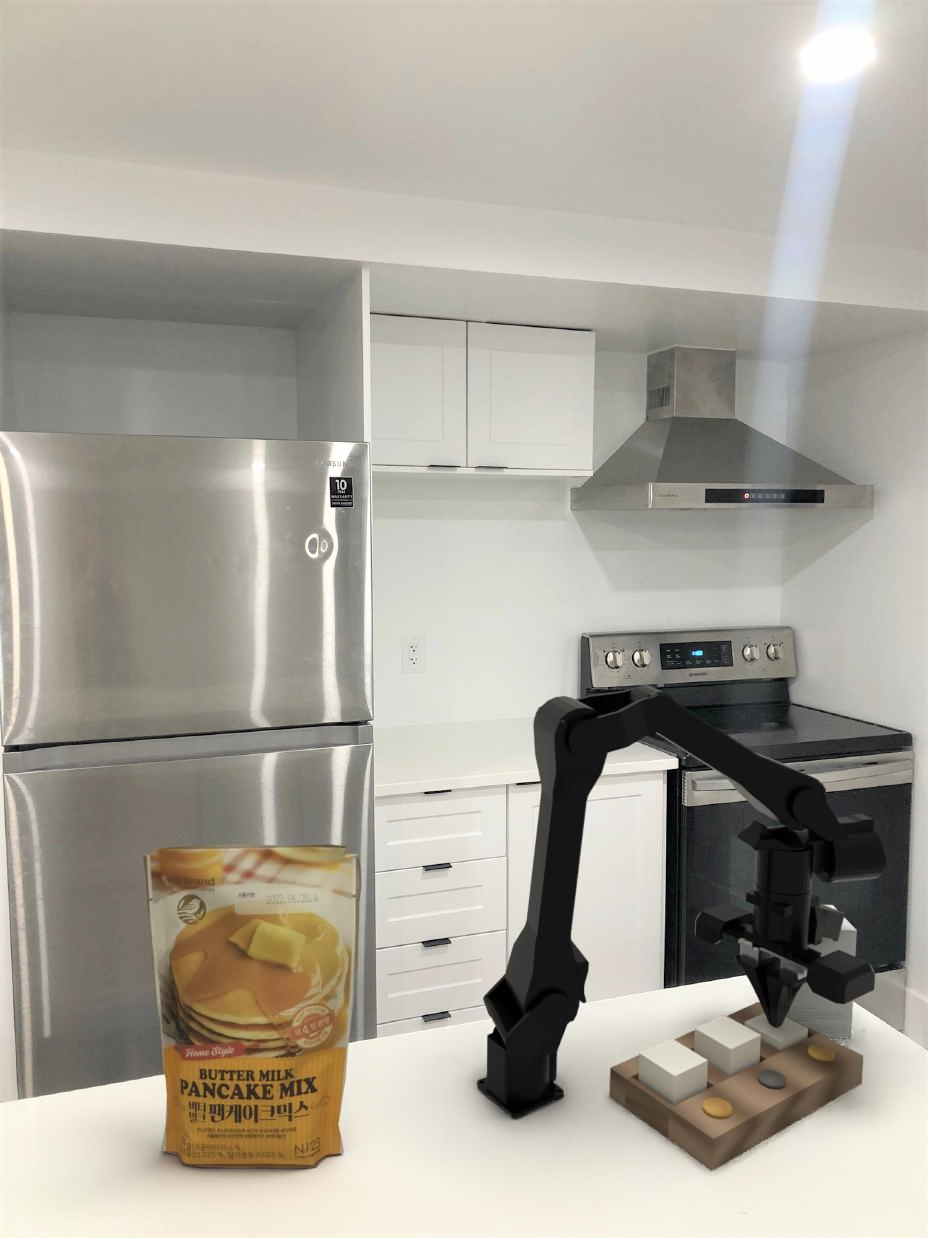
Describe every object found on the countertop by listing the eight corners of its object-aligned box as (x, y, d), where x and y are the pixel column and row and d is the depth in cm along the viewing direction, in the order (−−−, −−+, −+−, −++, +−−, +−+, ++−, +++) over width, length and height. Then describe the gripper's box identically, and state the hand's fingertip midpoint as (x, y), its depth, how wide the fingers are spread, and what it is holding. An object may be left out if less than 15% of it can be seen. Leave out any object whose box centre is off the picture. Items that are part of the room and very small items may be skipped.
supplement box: (853, 1039, 104) (859, 931, 103) (786, 1038, 105) (791, 929, 103) (828, 1005, 112) (834, 903, 110) (766, 1004, 112) (771, 902, 111)
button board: (712, 1170, 83) (713, 1134, 83) (609, 1096, 94) (610, 1064, 93) (861, 1083, 96) (863, 1052, 96) (756, 1027, 107) (758, 998, 106)
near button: (673, 1108, 88) (674, 1076, 88) (638, 1084, 92) (639, 1053, 92) (706, 1091, 91) (707, 1060, 90) (670, 1068, 95) (671, 1038, 94)
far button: (779, 1070, 98) (780, 1041, 97) (743, 1050, 101) (744, 1022, 101) (806, 1056, 100) (808, 1028, 100) (770, 1037, 104) (771, 1009, 104)
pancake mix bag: (162, 1121, 89) (155, 835, 86) (363, 1124, 89) (362, 838, 86) (137, 1171, 82) (128, 862, 79) (354, 1173, 82) (354, 865, 79)
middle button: (729, 1080, 93) (730, 1049, 92) (693, 1058, 96) (694, 1028, 96) (759, 1064, 95) (760, 1035, 95) (723, 1044, 99) (724, 1015, 99)
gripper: (909, 897, 96) (900, 1042, 97) (758, 844, 111) (752, 970, 113) (845, 923, 89) (836, 1078, 91) (694, 863, 105) (689, 997, 106)
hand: (775, 1025), depth 100 cm, fingers closed, pressing on far button
